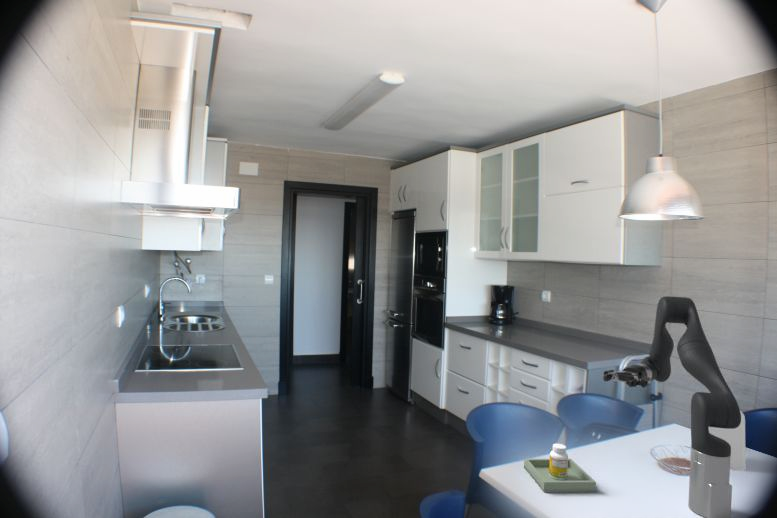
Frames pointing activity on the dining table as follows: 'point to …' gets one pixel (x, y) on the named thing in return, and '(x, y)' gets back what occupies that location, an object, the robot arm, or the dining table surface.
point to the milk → (734, 443)
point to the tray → (573, 482)
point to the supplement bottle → (558, 462)
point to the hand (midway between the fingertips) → (617, 381)
